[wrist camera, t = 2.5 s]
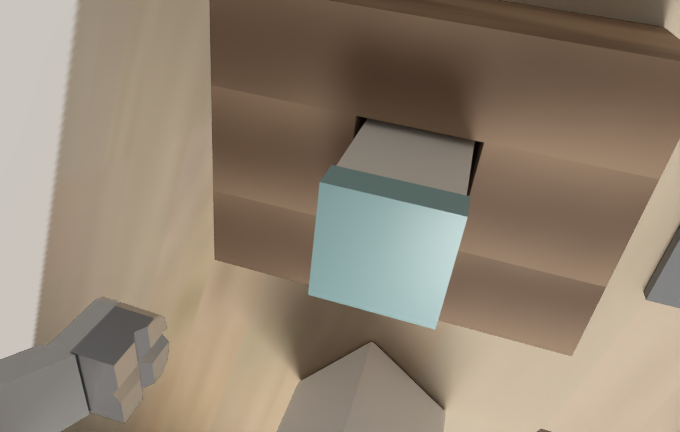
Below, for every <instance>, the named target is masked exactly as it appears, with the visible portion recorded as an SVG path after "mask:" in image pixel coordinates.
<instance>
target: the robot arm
mask: <svg viewBox="0 0 680 432" xmlns="http://www.w3.org/2000/svg"><path fill="white" fill-rule="evenodd" d="M166 329H167V325H166V319H165V317H164V316H161V315H158V314H155V313H152V312H149V311H146V310H143V309H140V308H137V307H134V306H131V305H128V304H125V303H122V302H119V301H115V300H112V299H109V298H106V297H101V298H99V299H96V300H95V301H94V302H93V303H91V304H90V305H89V306H88V307H87V308H86V309H85V310H84V311H83V312H82V313H81V314H80V315H79V316H78V317H77V318H76V319H75V320H74V321H73V322H72V323H71V324H70V325H68V326H67V327H66V328H65V329H64V330H63V331H62V332H61V333H60V334H59V335H58V336H57V337H56V338H55V339H54V340H53V341H52V342H51V343H50V344H49V345H48V346H47V345H44V344H40V345H37V346H35V347H32V348H30V349H27V350H24V351H22V352H19V353H16V354H14V355H11V356H9V357H6V358H3V359H1V360H0V432H61V431H62V430H64V429H66V428H67V427H69V426H71V425H72V424H74V423H76V422H78V421H79V420H81V419H83V418H84V417H86V416H88V415H89V412H90V413H94V414H97V415H100V416H103V417H106V418H110V419H113V420H116V421H119V422H123V423H125V422H126V421H127V419H128V418H129V417H130V415H131V414H132V413H133V411H134V410H135V409H136V407H137V406H138V405H139V403H140V402H141V401H142V399H143V388H145V387H147V386H149V385H151V384H153V383H155V382H156V380H157V379H158V377H159V376H160V375H161V373H162V372H163V369H164V367H165V365H166V362H167V360H168V354H169V343H168V341H167V340H166V338H165V337H164V336H163V332H164V331H165V330H166ZM537 432H550V431H547V430H543V429H540V430H538V431H537Z"/></svg>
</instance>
